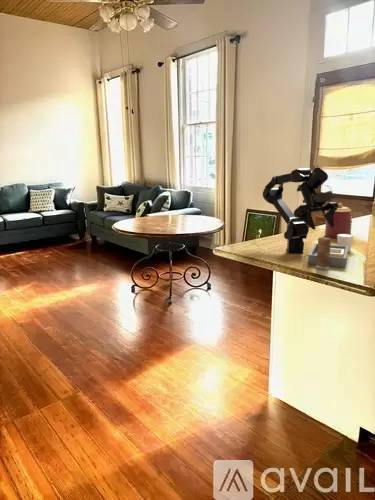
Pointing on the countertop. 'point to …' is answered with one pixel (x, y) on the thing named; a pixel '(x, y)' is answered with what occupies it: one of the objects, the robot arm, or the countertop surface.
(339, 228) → the canister
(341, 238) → the white cube
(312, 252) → the walled box
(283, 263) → the countertop surface
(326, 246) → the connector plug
